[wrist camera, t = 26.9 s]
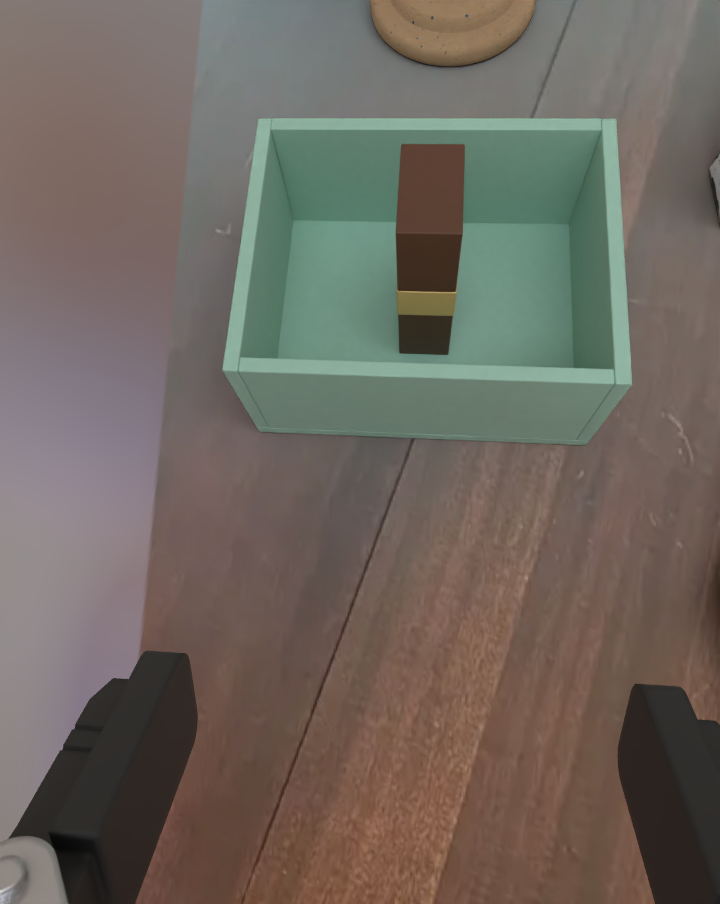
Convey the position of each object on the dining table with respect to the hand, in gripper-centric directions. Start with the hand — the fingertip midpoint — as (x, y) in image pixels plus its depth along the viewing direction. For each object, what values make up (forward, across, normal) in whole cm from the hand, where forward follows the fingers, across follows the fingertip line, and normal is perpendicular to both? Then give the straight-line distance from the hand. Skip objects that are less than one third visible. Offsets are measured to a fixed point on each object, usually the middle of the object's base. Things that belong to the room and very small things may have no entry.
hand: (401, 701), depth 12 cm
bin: (+34, 0, +3) cm, 34 cm away
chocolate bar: (+33, 0, +2) cm, 33 cm away
